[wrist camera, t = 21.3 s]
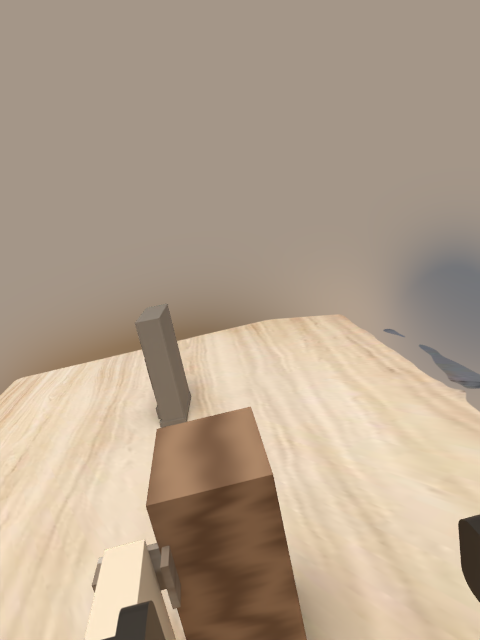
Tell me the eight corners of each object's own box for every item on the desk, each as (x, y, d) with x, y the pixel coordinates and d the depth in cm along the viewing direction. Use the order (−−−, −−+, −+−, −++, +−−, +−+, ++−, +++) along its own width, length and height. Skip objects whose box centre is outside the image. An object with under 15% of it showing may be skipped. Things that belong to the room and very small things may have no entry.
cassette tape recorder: (167, 401, 109) (143, 308, 102) (191, 396, 109) (167, 303, 102) (159, 428, 95) (130, 323, 89) (186, 423, 95) (159, 318, 89)
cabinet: (288, 585, 51) (250, 406, 45) (347, 802, 32) (296, 547, 26) (166, 617, 50) (110, 440, 44) (153, 862, 31) (51, 611, 25)
